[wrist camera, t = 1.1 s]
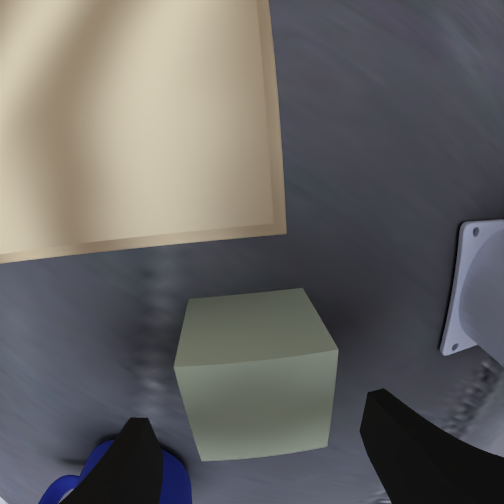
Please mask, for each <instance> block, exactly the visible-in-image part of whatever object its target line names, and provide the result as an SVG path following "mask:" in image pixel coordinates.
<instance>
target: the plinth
mask: <svg viewBox="0 0 504 504" xmlns="http://www.w3.org/2000/svg"><path fill="white" fill-rule="evenodd" d="M280 234H287V232H286V211H285V192H284V175H283V159H282V144H281V130H280V117H279V104H278V92H277V80H276V69H275V59H274V48H273V38H272V29H271V19H270V10H269V2H268V0H0V263H7V262H16V261H24V260H32V259H41V258H50V257H58V256H67V255H76V254H85V253H95V252H104V251H113V250H123V249H132V248H142V247H152V246H162V245H172V244H182V243H192V242H203V241H213V240H224V239H235V238H246V237H257V236H268V235H280Z"/></svg>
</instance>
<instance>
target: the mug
mask: <svg viewBox="0 0 504 504" xmlns="http://www.w3.org/2000/svg"><path fill="white" fill-rule="evenodd" d="M113 441H114V440H110V441H107V442H104V443H102V444H100V445H99V446H97V447H96V448H95V449H94V450H93V451H92V453H91V454H90V455H89V457H88V459H87V461H86V463H85V465H84V468H83V470H82V472H81V474H80V476H76V475H65V476H62V477H60V478H58V479H57V480H56V481H54V482H53V483H52V484H51V485H50V486H49V488H48V489H47V490H46V492H45V493H44V495H43V496H42V498H41V500H40V501H39V503H38V504H58V502H59V501H60V499H61V498H62V497H63V495H64V494H65V493H66V492H68V491H69V490H71V489H73V488H74V489H75V488H76V487H77V486H78V485H79V484H80V483H81V481H82V480H83V479H84V478H85V477H86V476H87V474H88V473H89V472H90V471H91V470H92V469H93V468H94V466H95V465H96V464H97V463H98V461H99V460H100V459H101V457H102V456H103V455H104V453H105V452H106V451H107V449H108V448H109V447H110V445H111V444H112V443H113ZM161 450H162V449H161ZM162 452H163V454H164V456H163V482H162V489H161V495H160V502H159V504H192V493H191V482H190V478H189V475H188V473H187V470H186V469H185V467H184V466H183V465H182V463H181V462H180V461H179V460H178V459H177V458H175V457H174V456H173V455H171V454H170V453H168V452H166V451H165V450H162Z"/></svg>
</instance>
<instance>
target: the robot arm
mask: <svg viewBox="0 0 504 504" xmlns="http://www.w3.org/2000/svg"><path fill="white" fill-rule="evenodd" d="M474 229H475V230H474ZM473 230H474V233H473ZM475 345H479V346H480V347H481V348H483V349H484V350H485V351H486V352H487V353H488V354H489V355H491V356H492V357H493V358H494V359H495V360H496V361H497V362H499V363H500V364H501V365H502V366H503V367H504V219H499V220H483V221H468V222H464V223H463V224H462V226H461V227H460V232H459V243H458V252H457V260H456V268H455V275H454V282H453V288H452V294H451V300H450V305H449V310H448V315H447V320H446V325H445V329H444V333H443V338H442V342H441V346H440V352H441V353H442V354H443V355H444V356H446V355H450V354H453V353H456V352H458V351H461V350H464V349H467V348H470V347H472V346H475ZM360 434H361V437H362V440H363V443H364V446H365V449H366V452H367V455H368V457H369V459H370V461H371V463H372V465H373V467H374V469H375V471H376V473H377V475H378V477H379V479H380V481H381V483H382V485H383V486H384V488H385V490H386V492H387V494H388V496H389V498H390V500H391V503H392V504H504V457H501V456H498V455H494V454H491V453H488V452H486V451H483V450H481V449H478V448H476V447H474V446H472V445H469V444H467V443H465V442H463V441H461V440H459V439H457V438H455V437H454V436H452V435H450V434H448V433H447V432H445V431H443V430H441V429H440V428H438V427H437V426H435V425H434V424H432V423H431V422H429V421H428V420H426V419H425V418H423V417H422V416H420V415H419V414H418V413H416V412H415V411H413V410H412V409H411V408H409V407H408V406H407V405H405V404H404V403H403V402H401V401H400V400H399V399H397V398H396V397H395V396H393V395H392V394H391V393H390V392H388V391H387V390H385V389H384V388H383V389H379V390H376V391H372V392H368V394H367V399H366V404H365V409H364V413H363V418H362V422H361V427H360ZM163 456H164V454H163V452H162V450H161V447H160V445H159V443H158V441H157V438H156V436H155V434H154V431H153V429H152V426H151V424H150V422H149V419H148V418H130V419H129V420H128V421H127V423H126V424H125V426H124V427H123V429H122V430H121V431H120V433H119V434H118V436H117V437H116V438H115V440H114V441H113V443H112V444H111V445H110V447H109V448H108V449H107V451H106V452H105V453H104V455H103V456H102V457H101V459H100V460H99V461H98V463H97V464H96V465H95V466H94V468H93V469H92V470H91V471H90V472H89V473H88V474H87V476H86V477H85V478H84V479H83V480H82V481H81V483H80V484H79V485H78V486H77V487H76V488H75V489H74V490H73V491H72V492H71V493H70V494H69V495H68V496H67V497H66V498H64V499H63V500H62V501H61V502H60V503H59V504H159V502H160V495H161V489H162V482H163Z"/></svg>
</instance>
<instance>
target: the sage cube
mask: <svg viewBox="0 0 504 504" xmlns="http://www.w3.org/2000/svg"><path fill="white" fill-rule="evenodd" d="M337 361H338V348H337V346H336V344H335V342H334V341H333V339H332V337H331V335H330V334H329V332H328V330H327V329H326V327H325V325H324V323H323V322H322V320H321V318H320V317H319V315H318V313H317V311H316V310H315V308H314V306H313V305H312V303H311V301H310V299H309V298H308V296H307V294H306V293H305V291H304V289H303V288H296V289H287V290H278V291H269V292H259V293H249V294H238V295H228V296H217V297H205V298H193V299H189V300H188V304H187V308H186V313H185V317H184V322H183V326H182V330H181V335H180V340H179V344H178V349H177V354H176V358H175V363H174V370H175V374H176V378H177V382H178V386H179V389H180V393H181V396H182V400H183V404H184V407H185V411H186V414H187V417H188V421H189V424H190V427H191V431H192V434H193V437H194V440H195V443H196V446H197V449H198V452H199V455H200V458H201V461H217V460H234V459H246V458H256V457H265V456H274V455H281V454H288V453H294V452H301V451H306V450H312V449H317V448H322V447H327V444H328V437H329V430H330V423H331V415H332V408H333V399H334V391H335V382H336V372H337Z"/></svg>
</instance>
